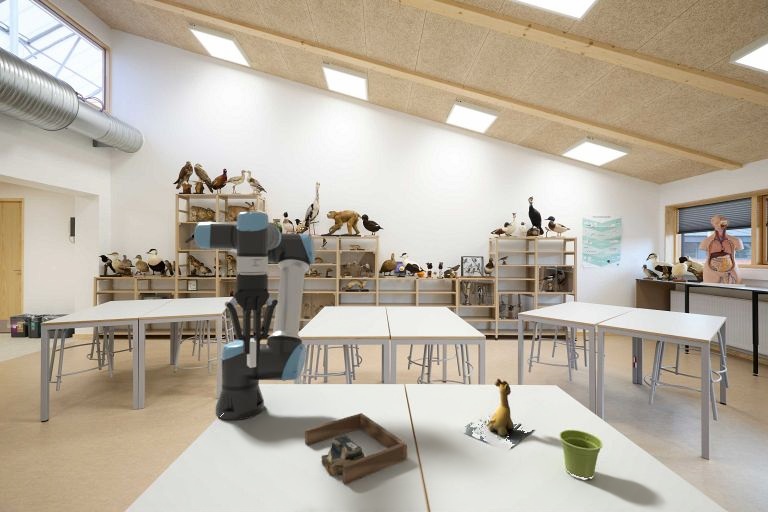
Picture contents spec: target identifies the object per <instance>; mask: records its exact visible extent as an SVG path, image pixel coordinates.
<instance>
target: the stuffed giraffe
mask: <svg viewBox="0 0 768 512" xmlns="http://www.w3.org/2000/svg"><path fill="white" fill-rule="evenodd" d="M494 385H495V386H496V387H498V389H499V394H500V395H499V399H500V404H499V406H498V407H497V409H496V410H495V411H494V413H493V414H492V416H491V417H490V419H491V420H490V421H489V420H488V424H485V425H486V426H485V427H487V428H488V431H489V430H490V431H489V432H490V433H494V432H495V433H494V434H497V433H498V436H499V437H500V438H504V439H505V438H506V436H509V437H507V439H508V440H510V442H512V444H515V446H516V445H517V444H518V443H519V442H520V441H521V440H522V439H524V438H525V437H527V436H528V435H529V434H531V433H530V432H527V433H524V432H525V431H523V430H522V431H521V430H517V429H518V428H519V427H520V426H521V425H522V424H521V423H518V425H517V424H513V422H514V421H513V420H512V418H511V417H512V416H511V415H512V414H511V408H510V405H509V399H508V396H509V395H510V394H511V392H512V391H511V387H510V384H509V383H508V382H507V381H506V380H503V381H502V380H501V379H500V378H497V379H496V380H495V381H494ZM471 425H472V424H471ZM471 425H470V423H469V424H466V425H465V426H464V427H465V432H463V434H464V435H466V436H469V437H472V438H474V437H473V436H471V435H472V434H473V432H472V431H473V427H470V426H471ZM478 425H479V424H478ZM482 425H483V424H482ZM482 425H481V426H482ZM516 425H517V426H516ZM515 426H516V427H515ZM482 427H483V426H482ZM482 427H481V428H482ZM514 427H515V428H514ZM480 433H481V434H482V431H481V432H480ZM481 434H480V435H481ZM508 434H509V435H508ZM483 439H484V438H483V437H482V436H480V440H479V441H482V442H484V440H483ZM507 439H506V441H507Z"/></svg>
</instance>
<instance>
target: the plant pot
mask: <svg viewBox="0 0 768 512" xmlns="http://www.w3.org/2000/svg"><path fill="white" fill-rule="evenodd" d="M558 436H559V437H558V438H559V439H560V441H561V445H562V450H563V455H564V456H563V457H564V464H565V465H564V466H565V470H566V469H567V471H569V472H570V473H571V474H574V475H576V476H579V477H584V478H589V477H592V476H594V475H595V470H596V466H597V462H598V458H599V457H598V455H599V453H600V451H601V449H602V448H603V441H601V439H600V438H598V437H597V436H595V435H593V434H591V433H589V432H586V431H583V430H579V429H577V430H575V429H565V430H562V431H561V432H559V435H558ZM567 471H566V472H567Z"/></svg>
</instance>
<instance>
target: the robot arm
mask: <svg viewBox="0 0 768 512" xmlns="http://www.w3.org/2000/svg"><path fill="white" fill-rule="evenodd" d="M236 218H237V220H236V222H221V221H220V222H219V221H204V222H198V223H197V225H196V226H195V228H194V234H193V235H194V237H193V238H194V242H195V245H196V246H197V247H198V248H199V249H204V250H220V251H226V252H230V253H235V254H236V272H237V273H238V274H237V275H236V277H235V278H236V279H235V280H236V281H235V282H236V287H235V289H236V291H235V294H234V297H233V298H232V299H231V300H229V301H225V303H224V306H225V308H226V309H227V310H228V312H229V316H230V321H231V324H232V328H233V332H234V337H235V338H236V339H237V340H234V341H230V342H228V343H226V344H225V345H224V346H223V347H222V350H221V358H220V361H221V390H220V393H219V396H218V398H217V402H216V404H215V416H216V417H217V418H219V417H220V416H221V415H222V414H223V413H224V414H223V415H222V416H221V417H220V418H219V419H221V420H226V421H227V420H228V421H236V420H243V419H244V420H245V419H248V418H253V417H255V416H257V415H259V414H260V413H262V411H264V408H265V401H264V397H263V394H262V391H261V388H260V383H259V381H283V382H285V381H296V380H298V378H300V376H301V375H302V372H303V369H304V366H305V362H306V357H307V355H306V354H307V347H306V345H305V344H304V343H303V339H302V338H301V337H300V335H299V329H300V322H301V321H300V320H301V313H302V312H301V311H302V301H303V293H304V284H305V275H306V272H308V271H309V270H310V265H311V266H312V265H314V264H315V263H316V256H315V255H316V254H315V245H314V240H313V237H312V236H311V235H310V234H308V233H301V232H299V233H282V232H281V231H280V229H279V228H278V227H277V226H276V225H274V224H273V223H271V222H269V215H268V214H267V213H264V212H261V211H260V212H259V211H241V212H239V213H238V214H237V217H236ZM269 264H277V266H278V268H279V269H280V278H279V285H278V286H279V287H278V293H277V299H275V298H273V297H271V296H270V293H269V291H268V289H269V288H268V284H269V276H268V274H266V273H267V272H268V271H269V267H268V266H269ZM237 304H238V305H239V307H240V309H242V328H241V323H240V320H239V315H238V312H237V309H236V308H237ZM265 304H266V307H265V312H264V316H263V319H262V311H263V309H262V308H263V306H265ZM274 310H275V314H274ZM252 313H253V315H252ZM251 315H252V317H253V319H252V318H251ZM273 315H275V316H274V321H273V327H272V328H273V330H272V333H271V334H270V335H269V331H270V327H271V323H272V318H273ZM251 319H252V320H251ZM251 321H252V325H251ZM251 326H252V330H251ZM251 331H252V332H253V333H252V337H251ZM268 335H269V336H268ZM264 338H266V339H267V340H266V343H261V341H262V339H264Z"/></svg>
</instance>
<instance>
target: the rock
mask: <svg viewBox="0 0 768 512" xmlns="http://www.w3.org/2000/svg"><path fill="white" fill-rule="evenodd" d="M363 457H366V456H365V453H364V452H363V448H362V447H361V446H360V445H359V444H357V443H356V442H355V441H354V440H353V439H351V438H350V437H348V436H347V435H345V434H342V435H338V436H335V437H333V439H332V442H331V446H330V449H329V450H328V454H323V455H321V461H320V462H321V463H322V465H323V467H325V470H326V471H327V473H328V475H329V476H334V475H342V474H343V465H344V464H347V463H350V462H352V461H355V460H358V459H361V458H363Z"/></svg>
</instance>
